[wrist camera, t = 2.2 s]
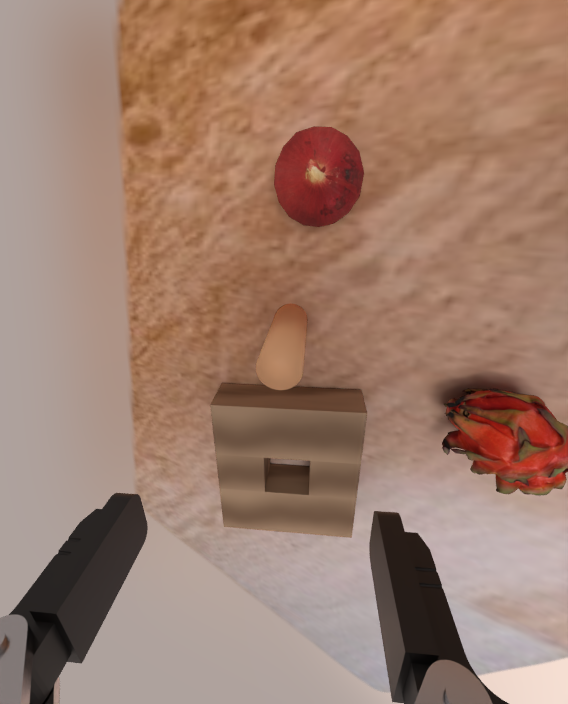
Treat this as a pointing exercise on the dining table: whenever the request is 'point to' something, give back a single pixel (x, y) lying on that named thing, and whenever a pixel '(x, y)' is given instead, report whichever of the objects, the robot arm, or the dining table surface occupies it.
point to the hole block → (289, 457)
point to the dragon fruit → (509, 440)
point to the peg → (284, 349)
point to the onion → (318, 176)
